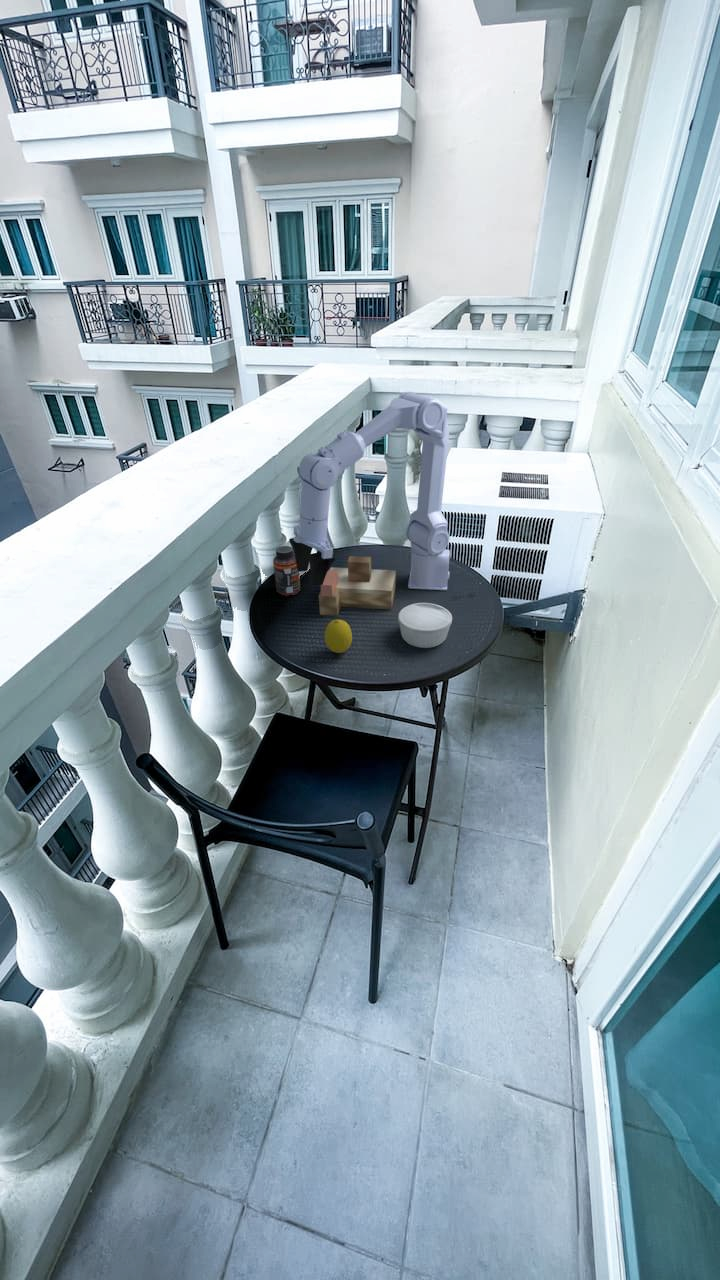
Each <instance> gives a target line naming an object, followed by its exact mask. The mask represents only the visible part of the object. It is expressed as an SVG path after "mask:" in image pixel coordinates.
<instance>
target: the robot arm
mask: <svg viewBox="0 0 720 1280" xmlns="http://www.w3.org/2000/svg"><path fill="white" fill-rule="evenodd" d="M447 414H448V407H447V406H446V405H445V404H444V403H443V402H442V401H441V400H439V399H438V398H435V397H430V396H429V397H428V396H425V395H421V394H417V393H414V392H412V391H404V392H402V393H401V394H400V395H399V396H398V397H396V398H393V399H392V400H391V401H390V403H389V405H388V406H387V407H386V408H384V409H383V410H382V411H381V412H380V413H378V414H377V415H375V417H373V418H372V419H370V421H368V422H367V423H366V424H365V425H363V426H362V427H361V428H360V429H358V430H357V431H356V432H352V431H347V430H346V431H345V432H343V431H340V432H339V433H338V434H336V437H337V438H336V439H334V440H332V441H331V442H329V444H327V445H325V446H324V447H323V446H321V447H320V448H318V450H317V453H316V452H315V453H314V452H313V453H312V452H311V453H308V454H305V456H303V457H302V458H301V460H300V462H299V466H297V467H296V472H297V475H298V477H299V478H300V480H301V491H300V493H301V494H300V512H299V525H293V535H294V536H293V537H291V538H289V539H288V541H289V542H290V544H291V546H292V548H293V551H294V555H295V560H296V566H297V570H298V571H299V572H301V571H307V570H308V566H309V563H310V570H311V571H310V573H311V583H312V586H314V587H316V586H317V587H319V586H321V585H323V582H324V579H325V576H326V574H327V571H328V570H330V568H331V567H332V564H333V563H334V562H335V561H336V555H335V554H334V549H333V548H332V547H331V545H330V542H329V538H328V535H327V534H328V525H329V524H328V522H329V513H330V512H329V511H330V500H331V499H330V498H331V487H334V485H336V483H337V480H338V477H339V475H341V474H342V472H344V471H345V470H346V469H348V468H349V467H351V466H352V465H354V464H355V463H356V462H358V461H360V460H361V459H363V457H364V455H365V449H366V448H367V447H370V446H371V445H372V444H373V443H375V442H377V441H379V440H380V439H382V438H383V437H385V436H387V435H388V434H390V433H391V432H393V431H395V430H396V429H406V430H413V431H414V432H415V433H416V434H417V435H418V436H419V437H420V438H421V439H422V447H421V459H420V461H421V462H420V470H419V480H418V481H419V483H418V484H419V485H418V492H417V493H418V494H417V506H416V507H417V508H416V509H415V510H414V511H413V512H412V513H410V515H409V521H408V524H407V527H406V530H405V536H406V539H407V540H408V542H410V547H411V554H410V556H411V557H410V558H411V559H410V573H409V578H408V583H407V588H408V589H413V590H414V589H415V590H429V591H430V590H431V591H433V590H434V591H435V590H436V591H447V590H448V584H449V583H448V581H449V579H450V571H449V569H450V552H451V550H450V549H446V548H447V547H448V545H449V541H450V535H449V531H448V527H449V523H448V521H447V519H446V518H445V516H444V514H443V513H442V505H443V495H444V488H445V487H444V486H445V477H446V468H447V459H448V448H449V440H450V428H449V424H448V420H447V416H448V415H447ZM313 549H314V550H315V551H316V552H315V553H312V551H313ZM308 571H309V570H308ZM308 571H307V572H308Z"/></svg>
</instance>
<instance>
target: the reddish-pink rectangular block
mask: <svg viewBox="0 0 720 1280" xmlns="http://www.w3.org/2000/svg"><path fill="white" fill-rule="evenodd" d="M337 583H338V571H331V570H330V569H328V571H327V574H326V576H325V579H324V582H323V585H320V591H321V596H330V597H333V594H334V591H335V589H336V586H337Z"/></svg>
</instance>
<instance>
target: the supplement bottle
mask: <svg viewBox="0 0 720 1280" xmlns="http://www.w3.org/2000/svg"><path fill="white" fill-rule="evenodd" d="M275 555H276V556H275V557H274V558H273V560H272V562H273V564H272V565H273V572H274V573H273V574H274V580H275V589H276V593H277V592H278V593H280V594H282V595H285V596H284V597H290V596H289V595H293V596H295V595H297V594H299V593H300V592H299V591H301V578H300V577H299V571H298V570H297V566H296V560H295V555H294V554H293V548H292V547H290V546H282V545H281V546H279V547H277V548H276V549H275ZM298 592H299V593H298ZM278 593H277V594H278ZM280 594H279V595H280ZM282 595H281V596H282Z"/></svg>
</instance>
